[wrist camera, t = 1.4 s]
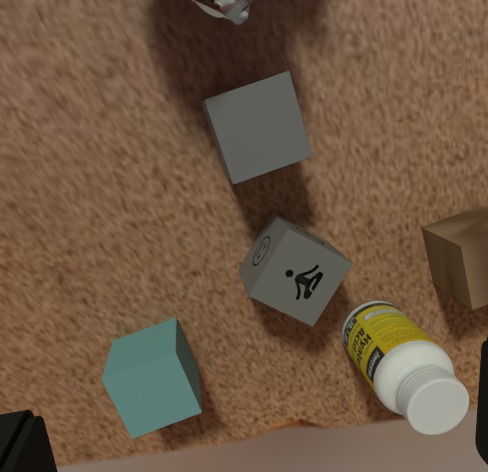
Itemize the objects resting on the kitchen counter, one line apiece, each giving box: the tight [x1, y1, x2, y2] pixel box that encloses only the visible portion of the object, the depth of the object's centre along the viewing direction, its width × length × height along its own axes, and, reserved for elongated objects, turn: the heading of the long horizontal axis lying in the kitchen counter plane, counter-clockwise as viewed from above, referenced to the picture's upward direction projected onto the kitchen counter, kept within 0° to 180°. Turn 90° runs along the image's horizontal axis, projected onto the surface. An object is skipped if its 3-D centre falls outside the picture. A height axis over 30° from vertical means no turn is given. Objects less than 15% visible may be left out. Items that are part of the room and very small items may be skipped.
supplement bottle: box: [342, 301, 469, 435], centre depth 30 cm, size 5×5×10 cm
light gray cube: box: [201, 71, 312, 184], centre depth 27 cm, size 5×5×5 cm
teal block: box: [102, 318, 202, 439], centre depth 31 cm, size 5×5×5 cm
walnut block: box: [422, 206, 488, 310], centre depth 32 cm, size 5×5×5 cm
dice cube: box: [238, 212, 353, 327], centre depth 30 cm, size 5×5×5 cm
